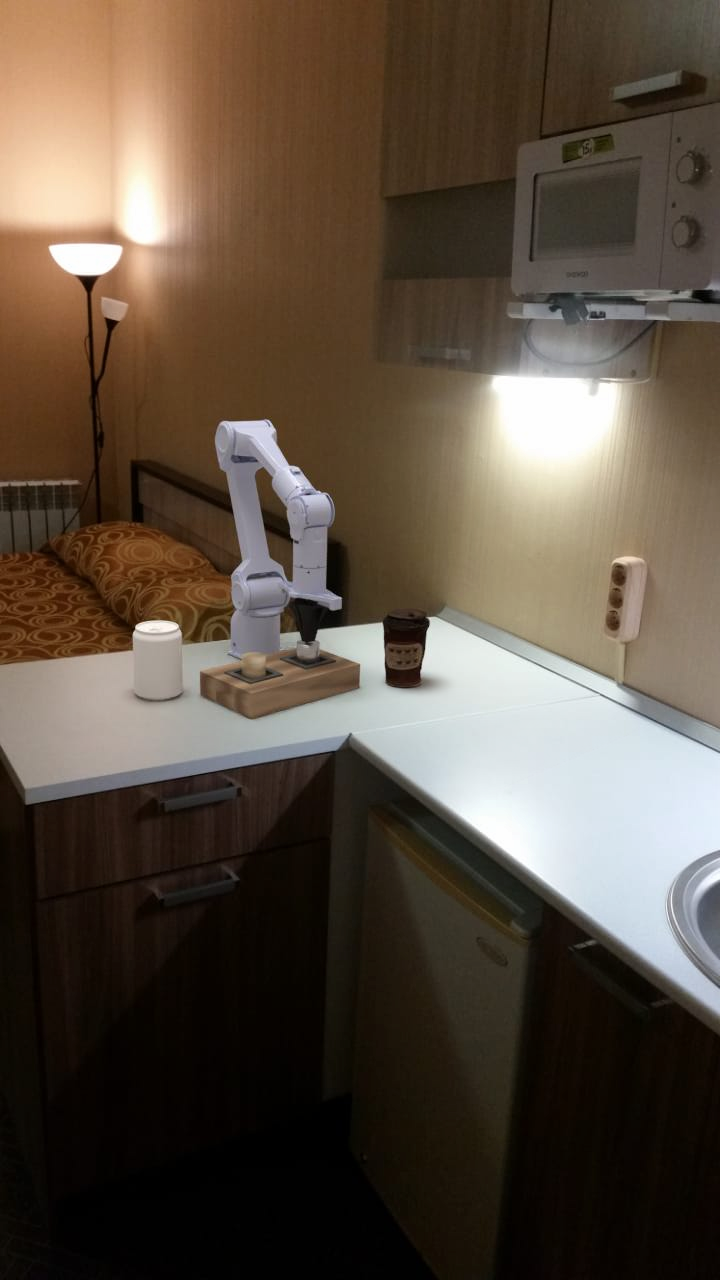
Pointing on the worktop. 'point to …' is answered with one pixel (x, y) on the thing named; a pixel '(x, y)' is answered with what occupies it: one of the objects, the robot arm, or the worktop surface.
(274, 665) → the socket block
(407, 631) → the coffee cup
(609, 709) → the worktop surface
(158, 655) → the beverage can
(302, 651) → the metal peg
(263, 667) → the maple peg
